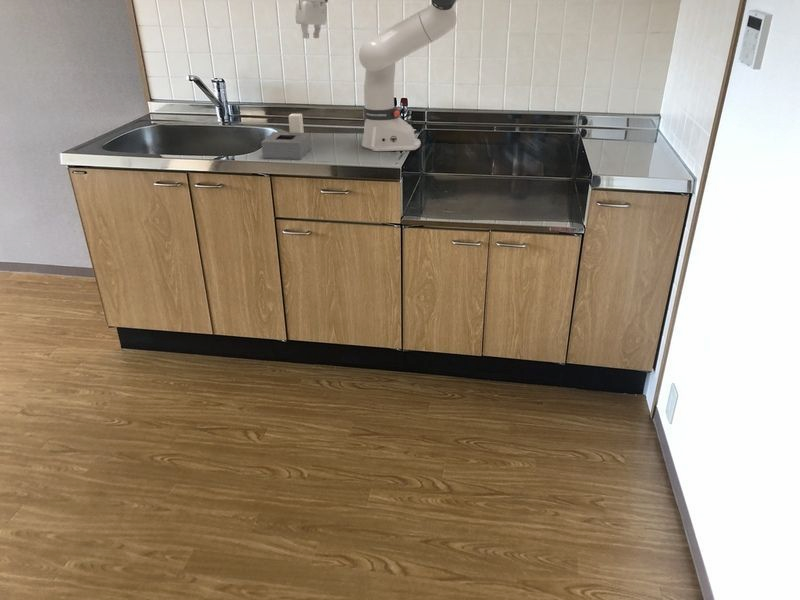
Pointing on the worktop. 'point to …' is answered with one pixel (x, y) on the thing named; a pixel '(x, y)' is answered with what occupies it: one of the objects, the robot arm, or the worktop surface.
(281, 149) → the grey socket block
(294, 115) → the plug
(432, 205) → the worktop surface
